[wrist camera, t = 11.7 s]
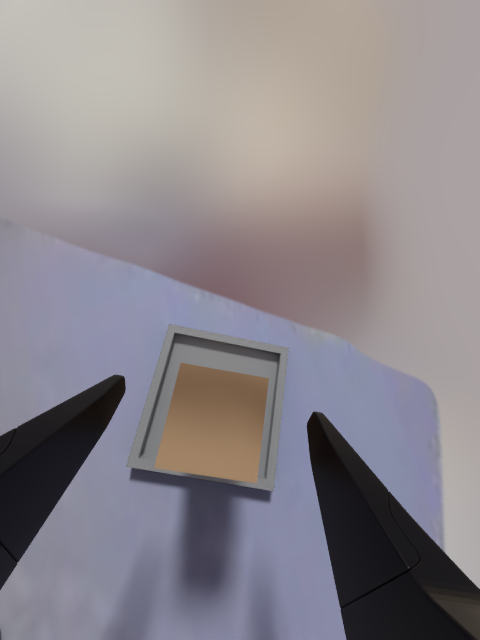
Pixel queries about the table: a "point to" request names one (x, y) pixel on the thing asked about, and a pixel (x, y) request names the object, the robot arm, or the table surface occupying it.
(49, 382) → the table surface
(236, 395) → the tan slab
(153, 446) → the box
